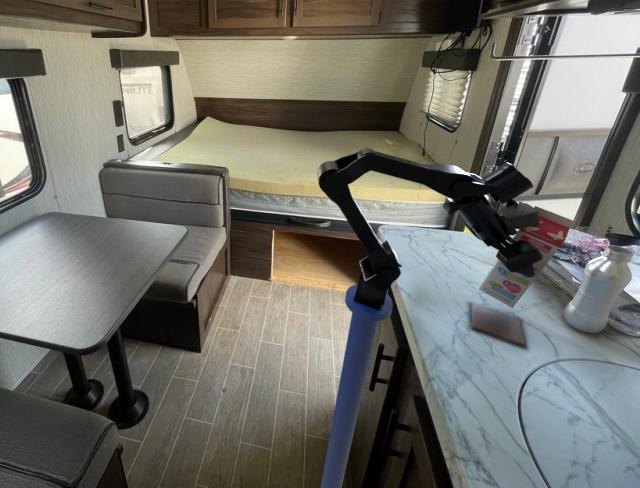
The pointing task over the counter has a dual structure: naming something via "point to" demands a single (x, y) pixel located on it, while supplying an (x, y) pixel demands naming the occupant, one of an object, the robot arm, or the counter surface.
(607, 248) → the plastic bottle
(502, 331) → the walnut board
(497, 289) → the juice carton
